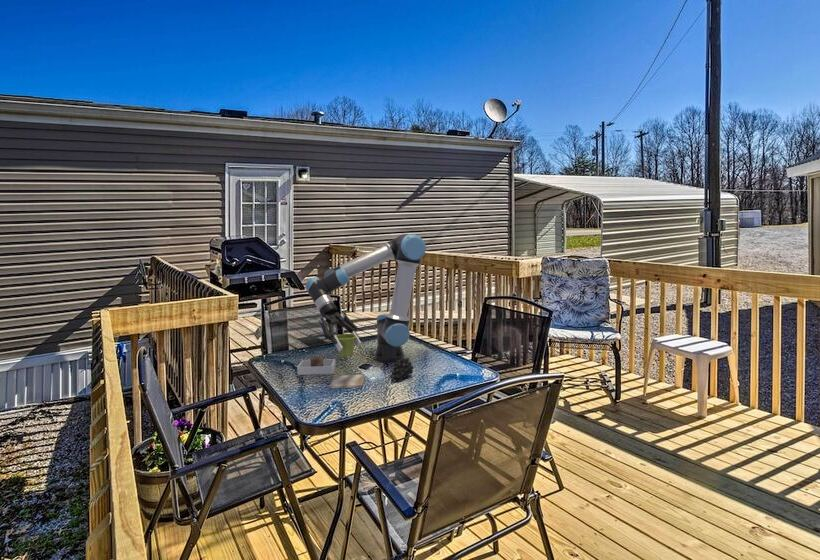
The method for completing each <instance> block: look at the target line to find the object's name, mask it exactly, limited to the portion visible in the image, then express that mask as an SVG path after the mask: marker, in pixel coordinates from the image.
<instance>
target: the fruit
mask: <svg viewBox="0 0 820 560" xmlns="http://www.w3.org/2000/svg"><path fill="white" fill-rule="evenodd" d="M392 366H393V368H392V369H391V370H390V373H391V374H390V376H389V378H390V379H392V380H393V381H394V382H397V381H398V379H399V380H403V378H408V377H409V376H410V375H411V374H413V372H414V366H413V365H412V361H410V358H408V357H407V358H405V357H404V358H401V360H397V361H395V362H393V365H392Z"/></svg>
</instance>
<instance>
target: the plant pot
mask: <svg viewBox="0 0 820 560" xmlns="http://www.w3.org/2000/svg"><path fill="white" fill-rule="evenodd" d="M336 337H337V338H338V340H339V342H340V343H341V345H342V347H343V348H342V350H341V351H338V350H337V352H338V356H340V357H341V358H349V357H352V356H354V351H355V350H354V349H355V348H354V347H355V342H354V341H355V337H356V335H354V334H351V333H342V334H337V335H336Z"/></svg>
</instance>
